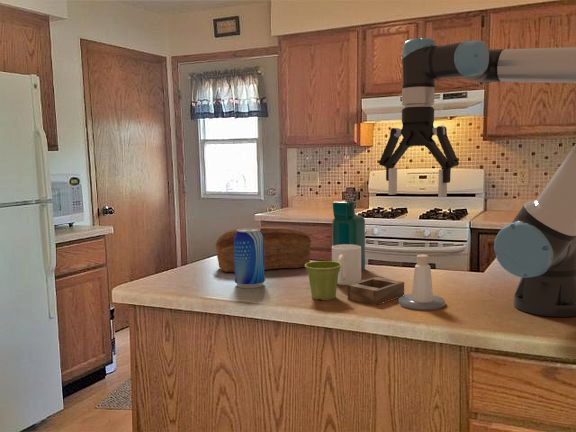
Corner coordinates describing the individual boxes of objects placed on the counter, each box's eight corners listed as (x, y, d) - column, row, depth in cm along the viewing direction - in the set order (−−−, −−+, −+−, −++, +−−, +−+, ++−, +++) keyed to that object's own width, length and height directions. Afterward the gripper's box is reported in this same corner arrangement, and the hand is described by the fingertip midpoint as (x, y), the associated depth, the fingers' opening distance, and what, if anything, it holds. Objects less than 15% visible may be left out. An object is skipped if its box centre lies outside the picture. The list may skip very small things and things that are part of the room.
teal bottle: (344, 266, 178) (343, 198, 176) (367, 268, 174) (367, 199, 171) (328, 271, 171) (327, 201, 168) (352, 274, 166) (351, 202, 163)
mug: (354, 289, 148) (353, 252, 147) (324, 287, 151) (324, 250, 150) (364, 279, 159) (364, 244, 158) (336, 278, 162) (336, 243, 161)
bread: (315, 268, 176) (314, 227, 175) (219, 275, 169) (217, 232, 167) (305, 261, 188) (304, 222, 186) (215, 267, 181) (213, 227, 179)
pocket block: (404, 295, 142) (404, 282, 141) (376, 305, 133) (376, 291, 133) (375, 289, 148) (375, 276, 147) (347, 298, 139) (347, 285, 139)
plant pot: (315, 304, 135) (314, 269, 134) (299, 295, 144) (298, 262, 143) (348, 299, 139) (348, 265, 138) (330, 291, 147) (330, 259, 146)
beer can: (271, 284, 155) (269, 229, 153) (249, 290, 149) (247, 232, 147) (250, 280, 161) (249, 226, 159) (229, 286, 155) (227, 230, 153)
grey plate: (453, 303, 134) (453, 299, 133) (429, 313, 126) (429, 308, 126) (414, 295, 141) (414, 291, 141) (389, 304, 133) (389, 300, 133)
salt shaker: (406, 300, 133) (406, 255, 132) (417, 295, 137) (418, 252, 136) (426, 304, 129) (427, 258, 128) (437, 299, 133) (438, 254, 132)
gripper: (475, 104, 125) (472, 197, 127) (382, 110, 142) (381, 192, 144) (460, 102, 119) (457, 199, 122) (365, 109, 136) (365, 194, 139)
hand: (416, 195), depth 133 cm, fingers open, 13 cm apart
